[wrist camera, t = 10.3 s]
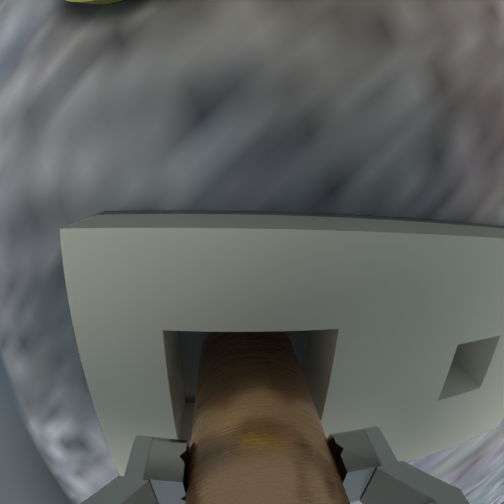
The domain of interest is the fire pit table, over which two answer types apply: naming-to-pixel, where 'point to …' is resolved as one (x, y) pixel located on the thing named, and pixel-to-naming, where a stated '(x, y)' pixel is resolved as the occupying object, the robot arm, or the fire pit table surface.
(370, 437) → the robot arm
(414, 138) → the fire pit table surface
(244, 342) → the brown cylinder
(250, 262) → the fitting block
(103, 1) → the plastic component
